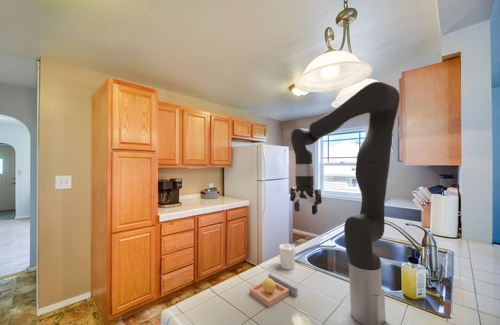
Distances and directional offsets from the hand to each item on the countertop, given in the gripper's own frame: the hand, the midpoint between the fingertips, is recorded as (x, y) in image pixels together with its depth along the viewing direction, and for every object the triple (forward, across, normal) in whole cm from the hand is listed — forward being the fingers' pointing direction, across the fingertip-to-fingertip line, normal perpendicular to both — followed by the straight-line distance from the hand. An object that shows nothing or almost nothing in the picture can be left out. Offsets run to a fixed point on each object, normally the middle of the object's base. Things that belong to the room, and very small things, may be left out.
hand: (305, 212), depth 88 cm
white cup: (+30, +16, -6) cm, 35 cm away
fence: (+30, +6, +10) cm, 32 cm away
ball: (+27, +6, +17) cm, 32 cm away
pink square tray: (+30, +6, +17) cm, 35 cm away
